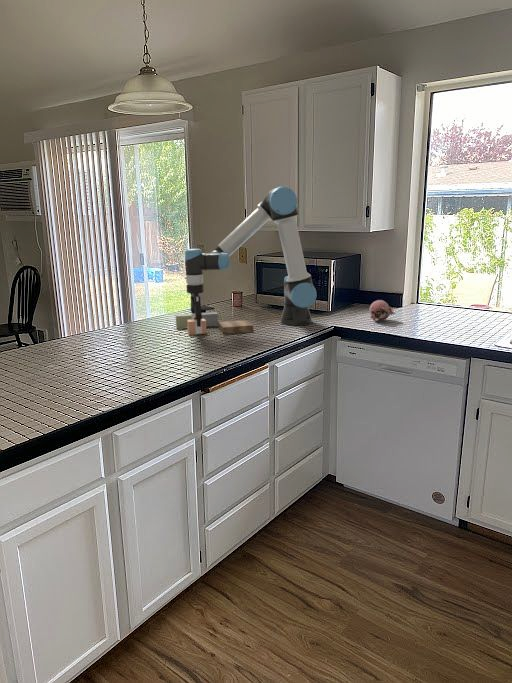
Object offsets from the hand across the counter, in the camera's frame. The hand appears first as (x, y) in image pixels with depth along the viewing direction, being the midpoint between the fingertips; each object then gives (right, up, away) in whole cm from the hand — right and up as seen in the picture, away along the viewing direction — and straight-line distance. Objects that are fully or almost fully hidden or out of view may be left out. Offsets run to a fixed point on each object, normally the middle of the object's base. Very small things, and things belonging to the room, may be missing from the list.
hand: (196, 330), depth 239 cm
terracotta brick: (0, -1, 0) cm, 1 cm away
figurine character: (0, +5, +27) cm, 28 cm away
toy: (+89, +4, +16) cm, 90 cm away
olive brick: (-7, +2, +13) cm, 15 cm away
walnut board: (+18, 0, +4) cm, 18 cm away
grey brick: (+4, +3, +15) cm, 16 cm away
